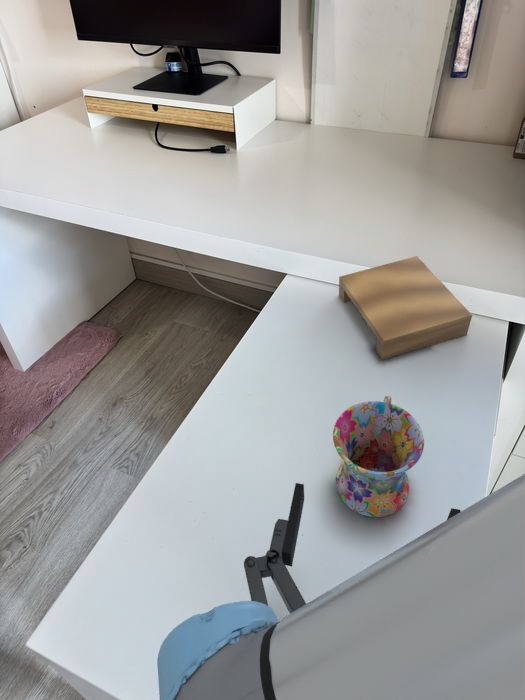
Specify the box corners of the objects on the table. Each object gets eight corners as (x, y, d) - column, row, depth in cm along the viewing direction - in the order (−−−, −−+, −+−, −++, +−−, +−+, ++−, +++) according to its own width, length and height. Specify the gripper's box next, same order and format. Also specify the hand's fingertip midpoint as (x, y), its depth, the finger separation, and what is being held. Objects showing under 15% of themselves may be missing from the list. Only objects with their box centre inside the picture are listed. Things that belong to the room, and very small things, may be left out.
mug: (405, 534, 56) (417, 485, 48) (323, 510, 58) (323, 461, 51) (420, 445, 63) (432, 392, 56) (347, 428, 66) (349, 375, 59)
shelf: (467, 334, 76) (472, 315, 73) (381, 360, 74) (384, 340, 71) (414, 274, 87) (417, 255, 84) (338, 295, 85) (339, 276, 82)
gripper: (175, 763, 37) (246, 500, 51) (547, 875, 32) (511, 546, 46) (150, 750, 32) (237, 460, 46) (593, 881, 26) (536, 506, 40)
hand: (374, 502), depth 46 cm, fingers open, 13 cm apart
